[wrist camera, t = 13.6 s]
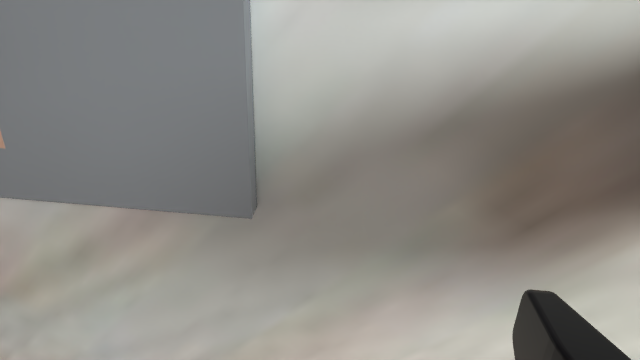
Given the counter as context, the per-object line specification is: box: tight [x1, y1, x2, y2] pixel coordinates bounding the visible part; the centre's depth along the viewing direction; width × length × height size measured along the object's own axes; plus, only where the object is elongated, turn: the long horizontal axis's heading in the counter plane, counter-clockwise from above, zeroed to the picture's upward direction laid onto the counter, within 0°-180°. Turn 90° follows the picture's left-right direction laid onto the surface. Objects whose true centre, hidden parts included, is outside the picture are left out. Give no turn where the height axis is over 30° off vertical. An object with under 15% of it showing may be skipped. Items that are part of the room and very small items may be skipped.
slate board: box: [0, 0, 257, 219], centre depth 21 cm, size 18×12×1 cm, turn 88°
